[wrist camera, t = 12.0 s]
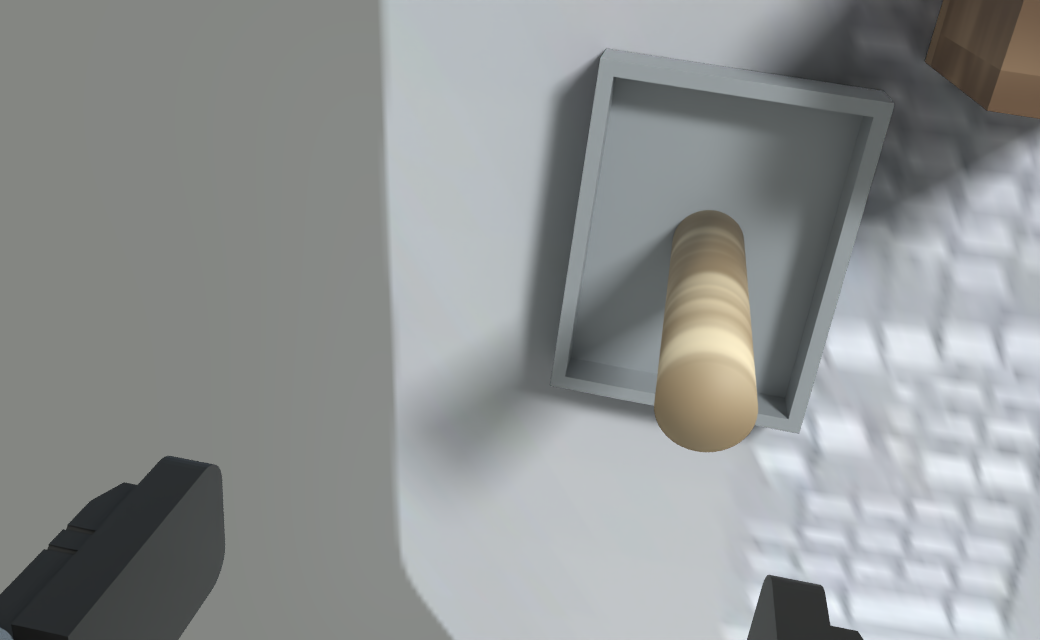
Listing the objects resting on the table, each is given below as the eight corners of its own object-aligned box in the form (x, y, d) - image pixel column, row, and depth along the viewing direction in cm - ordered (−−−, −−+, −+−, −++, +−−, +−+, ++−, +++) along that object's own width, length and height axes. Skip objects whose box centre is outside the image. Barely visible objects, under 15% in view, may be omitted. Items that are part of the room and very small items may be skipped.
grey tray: (606, 48, 38) (600, 58, 36) (883, 90, 37) (894, 103, 35) (557, 360, 45) (549, 385, 42) (794, 405, 43) (799, 433, 41)
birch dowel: (679, 204, 40) (664, 354, 27) (751, 216, 40) (768, 374, 27) (666, 269, 41) (646, 441, 29) (735, 282, 41) (745, 460, 28)
